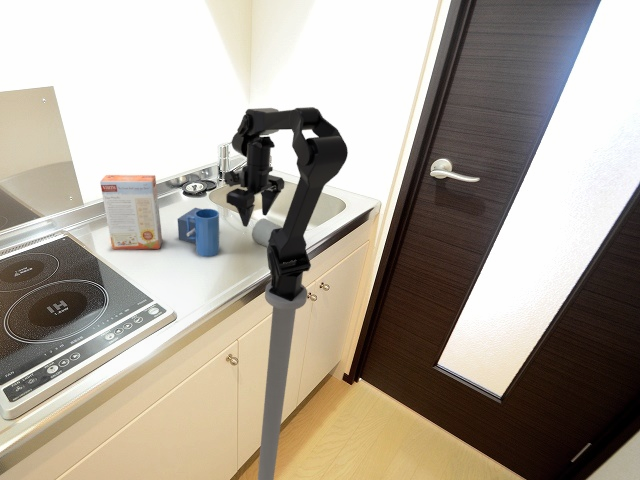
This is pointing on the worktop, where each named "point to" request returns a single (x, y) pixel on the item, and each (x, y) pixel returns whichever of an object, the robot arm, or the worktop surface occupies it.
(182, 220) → the slate-blue box
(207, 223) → the blue mug
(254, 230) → the grey cylinder
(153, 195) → the cracker box
